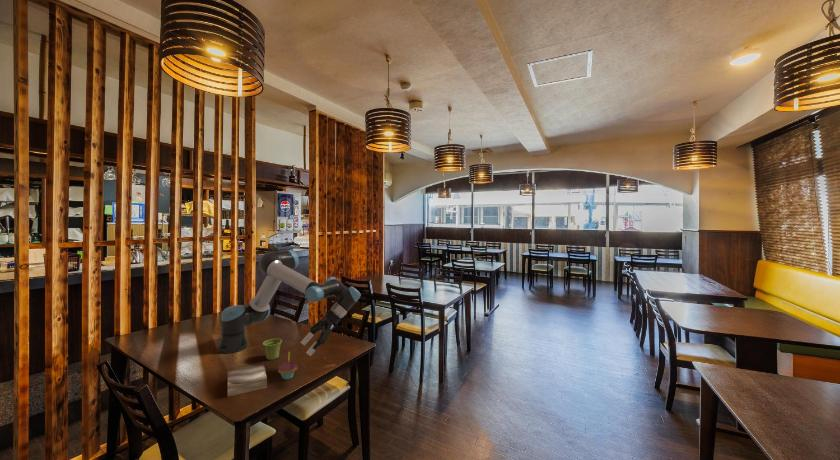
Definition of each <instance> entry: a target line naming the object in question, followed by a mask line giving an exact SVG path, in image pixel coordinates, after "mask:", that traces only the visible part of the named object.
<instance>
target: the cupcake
mask: <svg viewBox="0 0 840 460" xmlns="http://www.w3.org/2000/svg"><path fill="white" fill-rule="evenodd" d="M290 356H291V352H290V350H289V351H288V358H287V361H283V362H282V363H281V364H279V366H278V368H277V372H278V373H279V374H280V376H281V378H282V379H283V380H290V379H292V378H293V377H294V374H295V371H297V370H298V364H297V363H296V362H295V361H292V360H291V359H290V358H291V357H290Z"/></svg>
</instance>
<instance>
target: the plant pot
mask: <svg viewBox="0 0 840 460" xmlns="http://www.w3.org/2000/svg"><path fill="white" fill-rule="evenodd" d="M282 342H283V340H282V339H281V338H270V339H267V340H264V341H263V342H262V345H263V347H264V351H265V356H266V358H265V359H266V360H270V361H273V360H276V359H278V358H279V357H280V349H281V344H282Z"/></svg>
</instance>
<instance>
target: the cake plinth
mask: <svg viewBox="0 0 840 460" xmlns="http://www.w3.org/2000/svg"><path fill="white" fill-rule="evenodd" d="M267 388H268V377H267V373H266V368H265V365H264V364H262V365H248V366H243V367H239V368H236V369H235V370H231V371H227V397H229V398H230V397H234V396H237V395H242V394H246V393H249V392H255V391H259V390H263V389H267Z"/></svg>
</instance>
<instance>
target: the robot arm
mask: <svg viewBox="0 0 840 460" xmlns="http://www.w3.org/2000/svg"><path fill="white" fill-rule="evenodd" d="M299 263H300V259H299V255H298V254H297V253H296V251H294V250H293V249H284V250H276V251H268V252H266V253H264V254H262V256H261V257H260V259H259V262H258V264H259V269H260V271H261V272H262V273H263V274H264V275H266V277H265V278H264V280H263V282H262V284H261V285H260V287H259V289H258V291H257V293H256V295H255V297H252V298H251V299H250V300H249V302H248V304H247V305H243V304H236V305H232V306H231V305H230V306H228V307H225V308H224V309H223V310H222V312H221V315H220V316H221V317H220V320H221V321H220V322H221V324H220V325H221V327H220V328H221V329H220V330H221V331H220V332H221V333H220V335H221V337H220V340H219V341H218V342H219V343H218V346H217V352H219V353H220V354H232V353H237V352H241V351H245V350H246V349H247V348H248V347H249V339H248V337H247V335H246V327H247V326H251V325H255V324H257V323H260V322H263V321H265V320H267V319H268V318H269V316H270V314H271V306H270V302H271V300H272V298H273V296H274V295H275V294H276V292H277V290H278V288H279V286H280V284H281V282H283V283H284V284H286V285H288V286H290V287H291V288H293V289H295V290H297V291H299V292H301V293H302V294H304V295H305V298H306V299H307V301H308V302H310V303H315V302H320V301H323V300H326V299H328V298H331V297H334V298H335V299H337V301H336V302H335V303H334V304H333V305H332V307H331V309H329V310H328V311H327V312H326V314H325V316H322V318H321V319H320V320H319V321H317V322H316V323H315V324H313V325H312V326H311V327H310V330H309V332H308V333H307V334H306V335H305V337H304V338H302V340H301V341H300V344H302V345H303V346H306V345H307V344H308V343H309V341H310V340H311V339H312V338H313V337H314V336H315V335H316V333H318V332H320V331H321V333H320V334H319V336H318V338H317V339H316V340H315V341H314V343H312V344H311V346H310V347H309V348H308V350H307V351H306V352H305V354H307V355H308V356H310V357H311V356H312V355H313V354H314V353H315V352H316V351H317V349H318V348H319V347H320V346H321V345H323V346H324V345H325V344H326V341H327V340H328V338H329V336H330V335H331V334H332V331H333V330H334V329H335V326H334V325H338V324H339V323H340V321H341V320H342V318H344V317H345V316H346V315H347V313H348V312H349V311H350V310H351V308H353V306H354V305H355V304H356V303H357V302H358V301H359V299H360V297H361V296H362V293H360V291H359V290H357V288H355V287H354V286H349V287H347V286H346V285H345V284H343V283H342V282H341V281H340V280H339V279H337V278H336V277H335V276H330V277H328V278H327V279H326V280H325V281H323V282H324V283H318V282H316V281H314V280H312V279H311V278H308V277H307V276H306V275H303V274H302V273H300V272H298V271H296V268H297V267H298V266H299Z"/></svg>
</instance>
